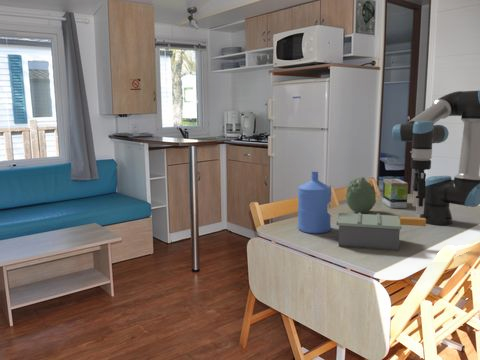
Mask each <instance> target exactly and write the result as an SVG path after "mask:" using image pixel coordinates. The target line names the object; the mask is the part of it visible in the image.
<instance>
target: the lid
mask: <svg viewBox="0 0 480 360" xmlns="http://www.w3.org/2000/svg"><path fill="white" fill-rule="evenodd" d="M336 226H338V227H339V226H354V227H370V228H386V229H400V230H402V226H413V227H414V226H417V227H418V226H419V227H426V226H427V223H426V219H425V218H420V217H412V216H399V215H390V214H389V215H387V214H380V213H376V214H369V213H368V214H367V213H366V214H365V213H349V212H339V213H338V217H337V220H336Z"/></svg>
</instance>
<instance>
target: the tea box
mask: <svg viewBox="0 0 480 360" xmlns="http://www.w3.org/2000/svg"><path fill="white" fill-rule="evenodd" d="M408 191H409V183H408V182H406V181H404V180H402V179H400V178H383V182H382V196H381V197H382V201H381V202H382V203H383V204H384V205H386V206H387V207H388V208H390V209H391V208H392V209H406V208H408V194H409V193H408Z"/></svg>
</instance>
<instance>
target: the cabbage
mask: <svg viewBox="0 0 480 360" xmlns="http://www.w3.org/2000/svg"><path fill="white" fill-rule="evenodd" d="M345 199H346V203H347V206H348V207H349V209H350V210H351V211H353V212H354V213H356V214H358V213H361V214H365V213H367V212H369V211H371V210H372V209H373V207H375V206H376V205H375V204H376V202H377V199H376V190H375V186H374V185H372V184H371V183H370V182H368V181H367V179H366V178H365V177H364V176H363V177H358V178H353V179H350V180H349V182H348V186H347V188H346V192H345Z"/></svg>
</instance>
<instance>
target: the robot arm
mask: <svg viewBox="0 0 480 360" xmlns="http://www.w3.org/2000/svg"><path fill="white" fill-rule="evenodd" d="M456 116H457V117H460V118H461V119H460V120H461V121H462V122H463V130H462V139H461V140H462V142H461V148H460V155H459V156H460V157H459V164H458V165H459V166H458V173H457V174H455V176H454V177H453V179H452V176H451V175H433V176H429V177H427V178H426V176H427V174H426V172H425V171H426V170H428V171H429V170H431V168H432V160H431V159H432V157H433V155H432V154H433V144H441V143H444V142H445V141H446V140H447V139H448V137H449V135H450V133H449V129H448V128H447V127H446V126H445V125H441V124H436V123H438V122H439V121H440V120H442V119H447V118H448V117H456ZM391 135H392V139H393V140H394V141H395V142H408V143H411V144H412V145H411V150H410V151H409V153H411V160H410V168H411V169H413V170H414V175H413V176H414V178H413V180H414V181H413V194H412V195H413V197H412V207H416V208H415V214H416V215H419V218H425V219H426V224H429V225H436V226H437V225H438V226H447V225H450V224H452V223H453V216H452V213H451V209H450V205H451V204H452V205H459V206H465V207H472V208H475V207H478V206H479V205H480V89H479V90H463V91H462V90H460V91H459V90H458V91H454V92H451V93H448V94H445V95H444V96H442V97H440V98H438V99H436V100H434V102H432V104H431V106H429V107H427V109H425V110H423V111H422V112H421V113H419V114H417V115H415V117H413V118H411V119H410V120H409V121H407V122H406V123H403V124H402V123H399V124H395V125H393V128H392V131H391Z"/></svg>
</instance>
